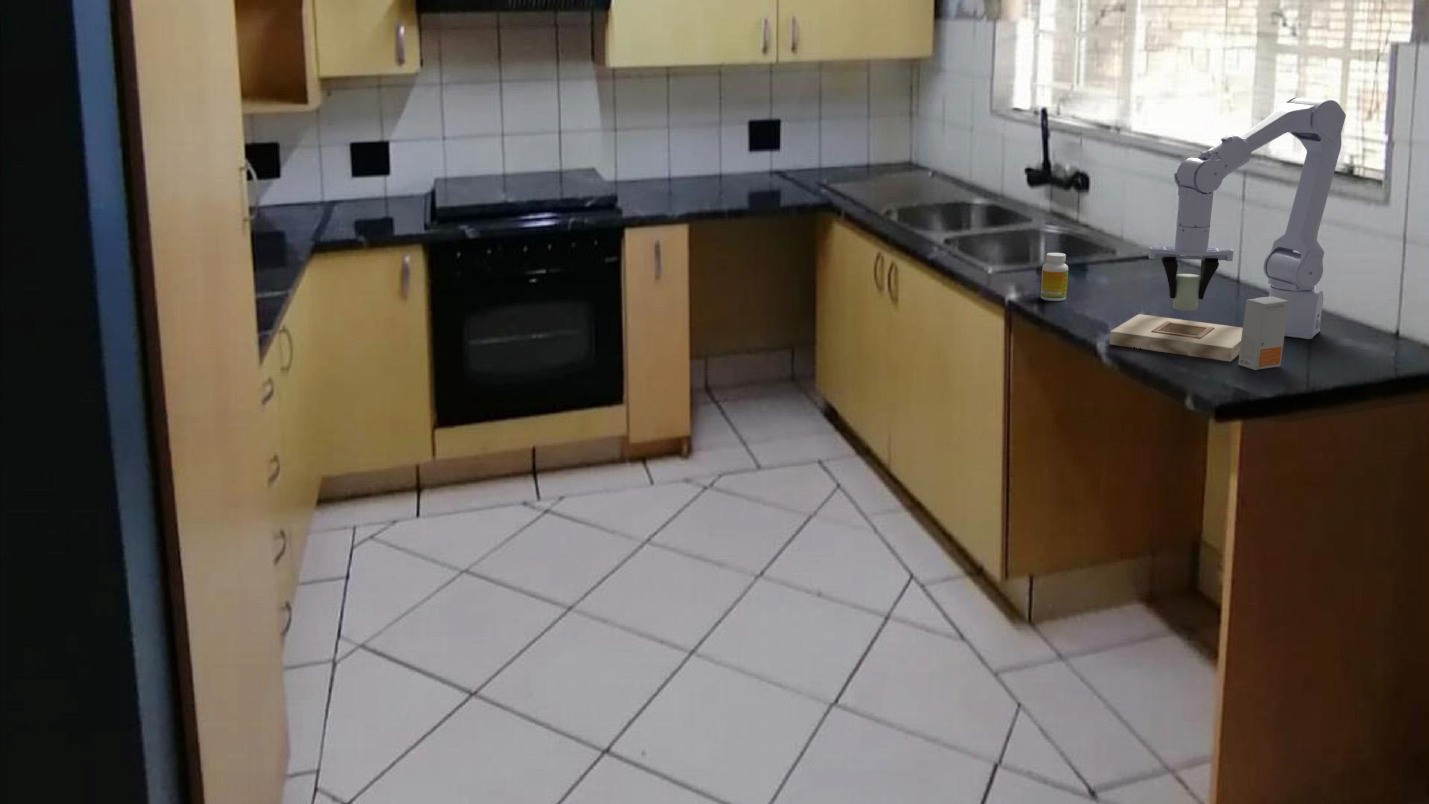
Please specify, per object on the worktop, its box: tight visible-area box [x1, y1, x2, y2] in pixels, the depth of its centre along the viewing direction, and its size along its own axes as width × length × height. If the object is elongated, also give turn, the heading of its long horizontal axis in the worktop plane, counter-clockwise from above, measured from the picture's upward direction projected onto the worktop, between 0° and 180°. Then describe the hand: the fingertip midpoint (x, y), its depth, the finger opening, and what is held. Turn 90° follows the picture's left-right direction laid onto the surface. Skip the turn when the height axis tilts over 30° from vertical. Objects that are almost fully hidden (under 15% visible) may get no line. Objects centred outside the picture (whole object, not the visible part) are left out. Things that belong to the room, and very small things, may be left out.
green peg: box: [1172, 273, 1201, 312], centre depth 242 cm, size 4×4×6 cm
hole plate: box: [1109, 313, 1243, 362], centre depth 244 cm, size 22×16×3 cm
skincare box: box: [1237, 296, 1289, 371], centre depth 228 cm, size 6×4×12 cm
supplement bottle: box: [1040, 252, 1069, 302], centre depth 279 cm, size 5×5×10 cm
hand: (1186, 297), depth 242 cm, fingers closed on green peg, 4 cm apart
